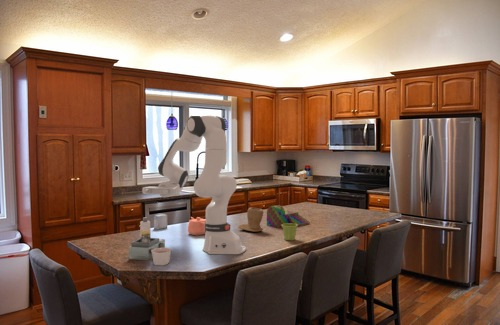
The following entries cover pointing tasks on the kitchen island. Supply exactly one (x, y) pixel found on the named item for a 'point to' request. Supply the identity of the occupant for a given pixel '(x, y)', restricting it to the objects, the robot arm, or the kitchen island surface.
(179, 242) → the kitchen island surface
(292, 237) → the plant pot
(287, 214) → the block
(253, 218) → the brown hat
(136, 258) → the green tray box
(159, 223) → the medicine box
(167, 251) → the candle
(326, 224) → the kitchen island surface
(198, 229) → the teapot
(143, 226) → the frosted glass bottle
